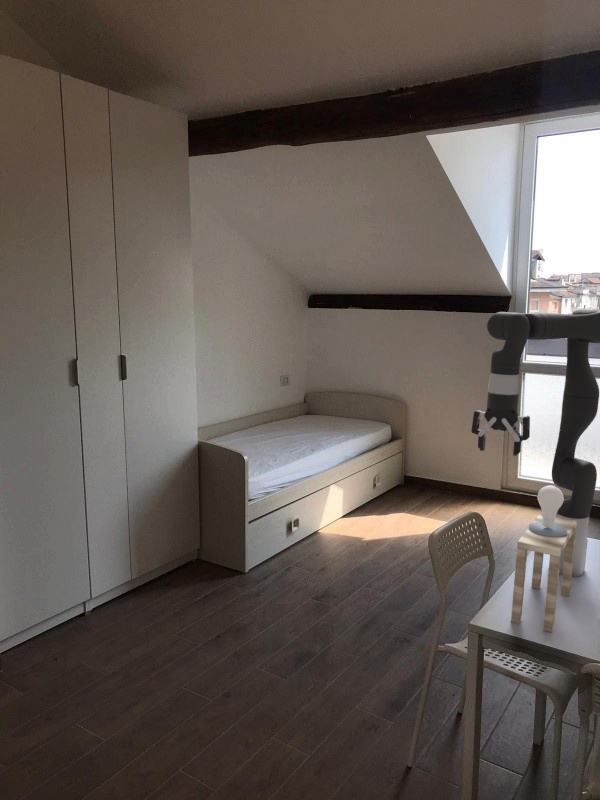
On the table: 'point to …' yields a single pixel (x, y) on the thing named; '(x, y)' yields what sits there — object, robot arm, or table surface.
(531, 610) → the table surface
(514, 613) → the stool
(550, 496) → the lightbulb
